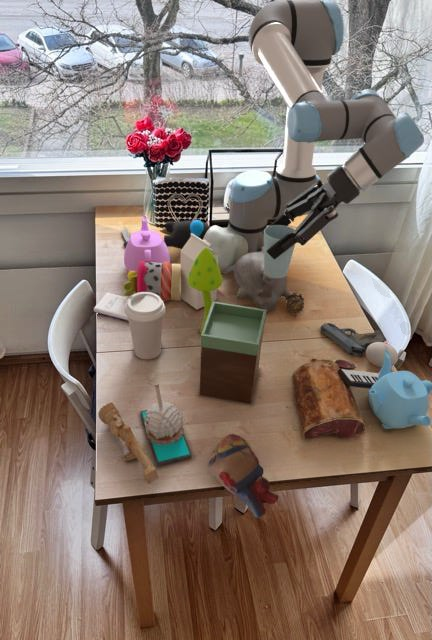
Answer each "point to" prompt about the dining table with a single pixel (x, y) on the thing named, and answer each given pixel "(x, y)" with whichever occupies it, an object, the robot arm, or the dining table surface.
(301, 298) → the pendant
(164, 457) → the smartphone
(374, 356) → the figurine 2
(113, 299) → the hard drive
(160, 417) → the decorative ornament
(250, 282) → the piggy bank
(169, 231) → the toy
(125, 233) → the knife
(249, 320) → the tray
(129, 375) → the dining table surface
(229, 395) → the stand
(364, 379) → the midi keyboard
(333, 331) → the handgun
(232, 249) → the planter
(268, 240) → the cup
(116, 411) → the figurine
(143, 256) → the teapot
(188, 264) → the milk carton
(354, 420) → the cured meat
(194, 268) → the mushroom
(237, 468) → the anatomical model
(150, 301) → the coffee cup
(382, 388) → the teapot
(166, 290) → the cake
